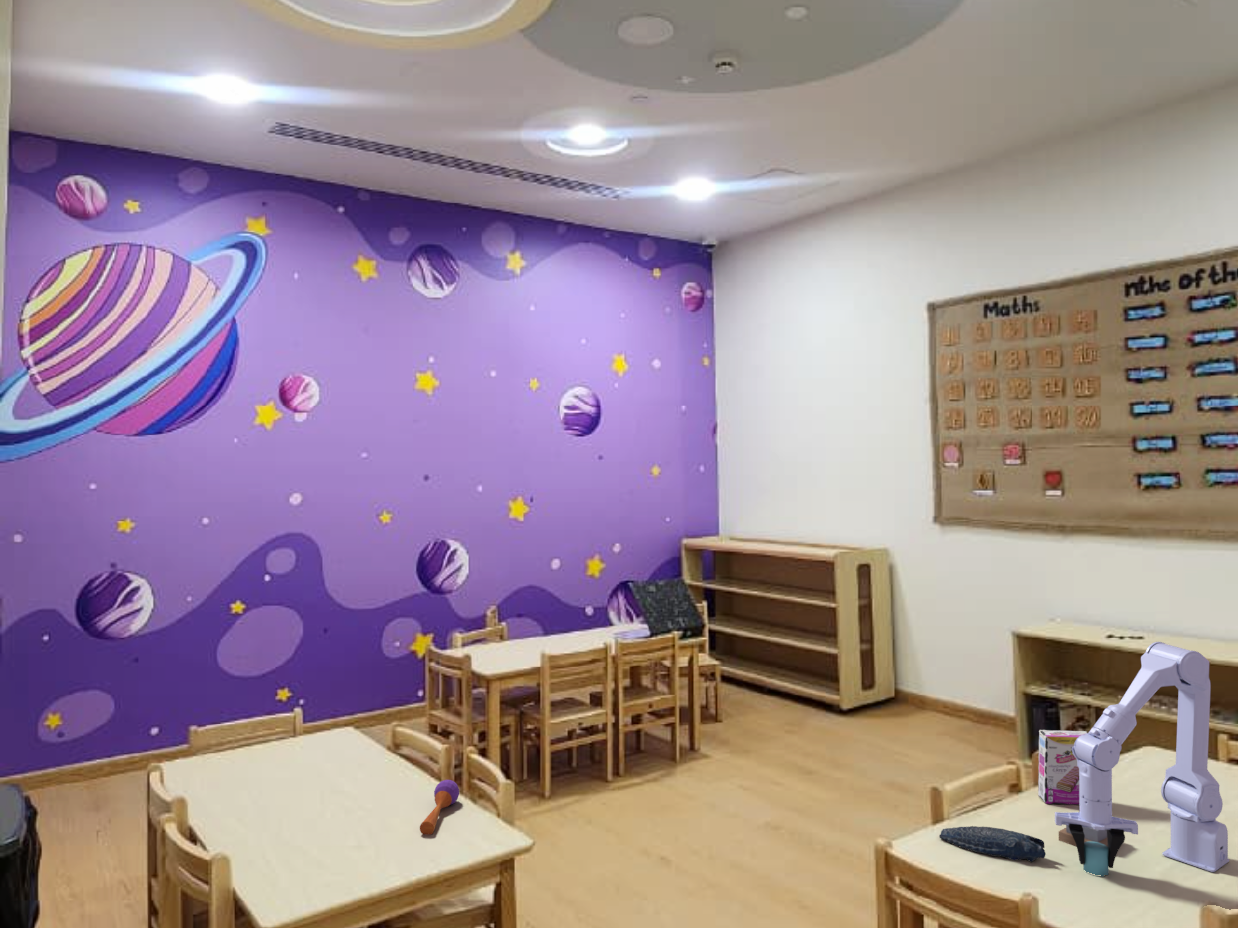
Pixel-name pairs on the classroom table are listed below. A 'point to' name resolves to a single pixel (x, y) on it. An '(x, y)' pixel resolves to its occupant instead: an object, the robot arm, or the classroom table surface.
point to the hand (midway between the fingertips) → (1095, 863)
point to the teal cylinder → (1096, 858)
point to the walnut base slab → (1070, 840)
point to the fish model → (995, 842)
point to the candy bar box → (1058, 767)
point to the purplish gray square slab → (1092, 833)
